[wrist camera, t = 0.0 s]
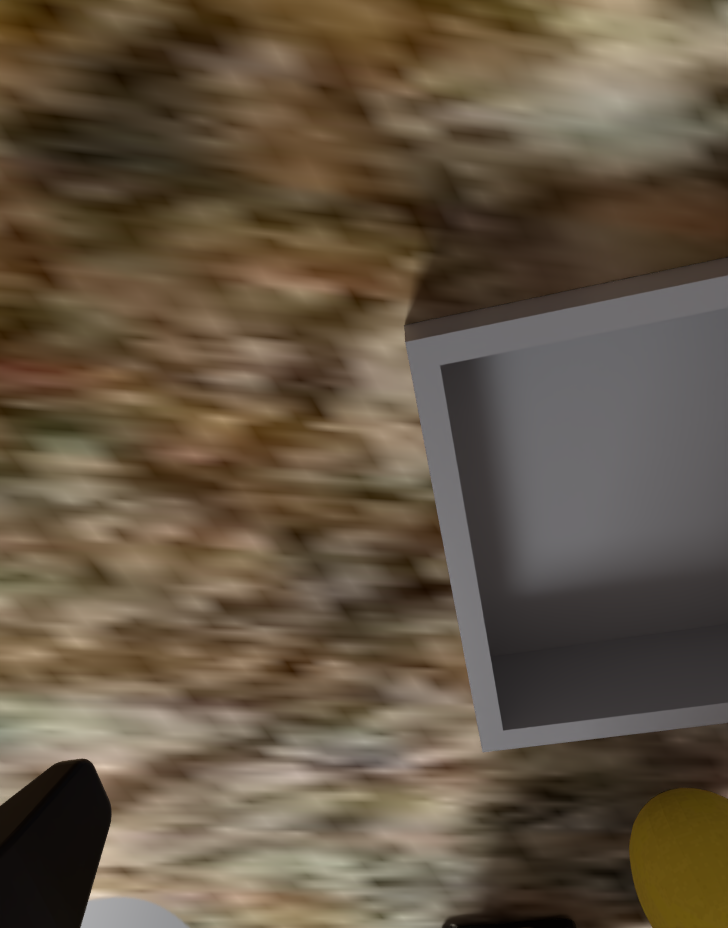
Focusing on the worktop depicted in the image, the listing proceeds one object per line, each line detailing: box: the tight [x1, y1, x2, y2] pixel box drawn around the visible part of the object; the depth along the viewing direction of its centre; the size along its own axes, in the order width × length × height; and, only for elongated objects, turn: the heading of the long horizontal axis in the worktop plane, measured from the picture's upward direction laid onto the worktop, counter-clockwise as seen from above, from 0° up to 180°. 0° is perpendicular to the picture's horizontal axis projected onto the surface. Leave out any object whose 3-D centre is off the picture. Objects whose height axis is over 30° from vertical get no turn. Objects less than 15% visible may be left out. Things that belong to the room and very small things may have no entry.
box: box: [404, 257, 728, 752], centre depth 19 cm, size 14×14×4 cm
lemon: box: [629, 788, 728, 928], centre depth 22 cm, size 6×6×8 cm
